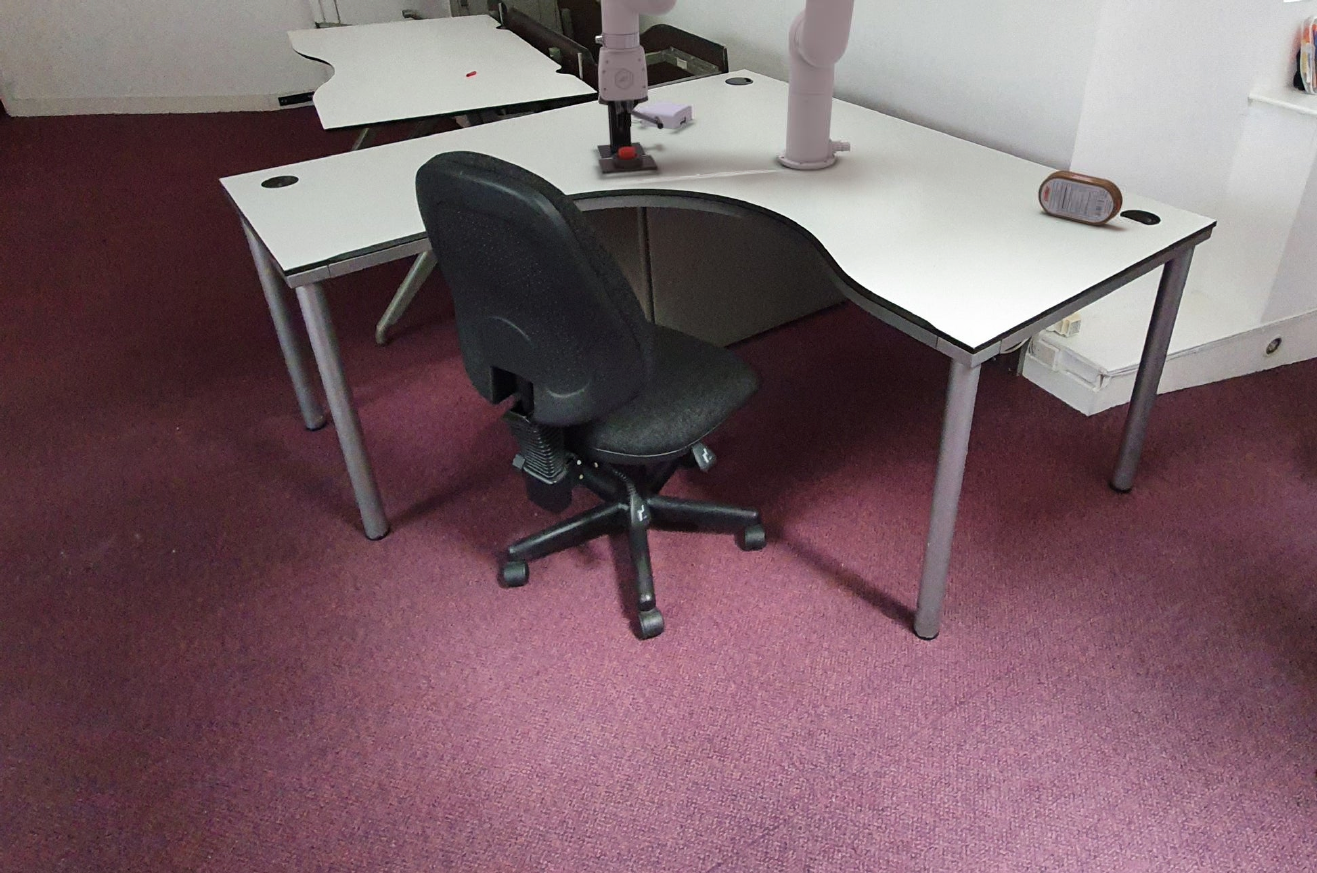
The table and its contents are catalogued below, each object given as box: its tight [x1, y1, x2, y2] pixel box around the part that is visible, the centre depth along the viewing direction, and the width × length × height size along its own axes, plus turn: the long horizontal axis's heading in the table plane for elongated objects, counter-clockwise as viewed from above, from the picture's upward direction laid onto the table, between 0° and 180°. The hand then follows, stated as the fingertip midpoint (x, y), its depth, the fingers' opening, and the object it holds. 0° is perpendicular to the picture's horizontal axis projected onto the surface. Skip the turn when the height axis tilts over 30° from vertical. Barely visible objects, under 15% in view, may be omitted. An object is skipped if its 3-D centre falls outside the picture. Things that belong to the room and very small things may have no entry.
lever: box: [631, 109, 664, 130], centre depth 213 cm, size 12×6×2 cm, turn 100°
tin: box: [1037, 170, 1124, 226], centre depth 176 cm, size 15×3×8 cm, turn 48°
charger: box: [632, 101, 693, 130], centre depth 235 cm, size 5×9×15 cm
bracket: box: [597, 100, 646, 159], centre depth 214 cm, size 10×9×13 cm
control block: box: [598, 151, 658, 175], centre depth 208 cm, size 12×8×4 cm, turn 99°
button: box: [619, 147, 635, 159], centre depth 206 cm, size 4×4×2 cm
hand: (624, 130), depth 203 cm, fingers closed
